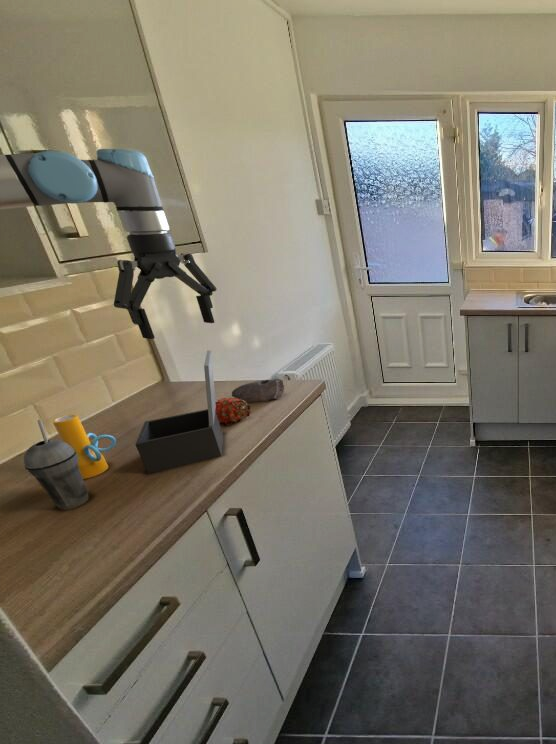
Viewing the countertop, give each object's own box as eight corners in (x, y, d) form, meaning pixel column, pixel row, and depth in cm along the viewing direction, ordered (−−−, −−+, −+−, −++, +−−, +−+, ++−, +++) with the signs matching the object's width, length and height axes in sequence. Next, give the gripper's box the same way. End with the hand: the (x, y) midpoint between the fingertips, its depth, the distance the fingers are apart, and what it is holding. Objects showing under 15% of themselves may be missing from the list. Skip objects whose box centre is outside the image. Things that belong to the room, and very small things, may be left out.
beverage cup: (41, 514, 86) (-8, 430, 78) (80, 492, 92) (39, 412, 84) (69, 518, 84) (22, 433, 76) (107, 495, 91) (68, 415, 83)
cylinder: (80, 463, 102) (53, 409, 96) (131, 456, 105) (108, 403, 99) (47, 493, 92) (14, 435, 86) (104, 484, 95) (76, 427, 88)
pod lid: (204, 365, 96) (208, 365, 96) (207, 350, 106) (211, 350, 106) (209, 426, 101) (213, 425, 101) (211, 406, 110) (215, 406, 111)
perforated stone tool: (231, 408, 130) (225, 387, 127) (236, 401, 135) (230, 381, 132) (284, 401, 134) (279, 382, 131) (287, 395, 139) (282, 376, 136)
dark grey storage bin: (148, 476, 98) (135, 444, 94) (156, 451, 107) (144, 421, 104) (222, 458, 104) (212, 427, 101) (223, 436, 114) (214, 407, 111)
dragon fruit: (258, 424, 123) (213, 436, 120) (256, 400, 127) (212, 411, 124) (245, 412, 116) (197, 425, 113) (242, 387, 120) (196, 398, 117)
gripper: (195, 229, 100) (220, 315, 108) (62, 236, 78) (107, 343, 87) (217, 230, 97) (241, 318, 106) (87, 237, 76) (130, 347, 84)
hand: (181, 330), depth 96 cm, fingers open, 13 cm apart
